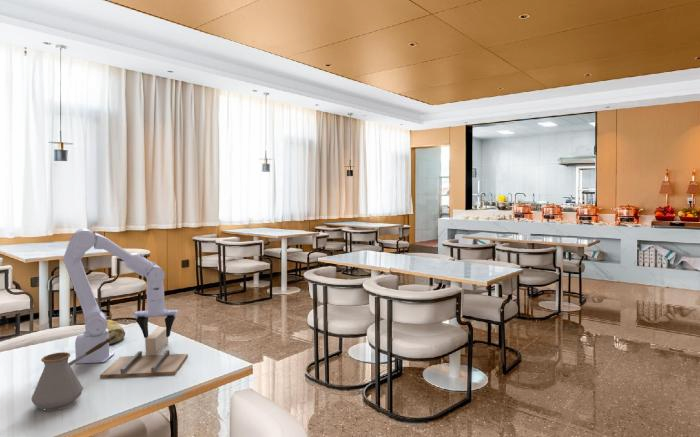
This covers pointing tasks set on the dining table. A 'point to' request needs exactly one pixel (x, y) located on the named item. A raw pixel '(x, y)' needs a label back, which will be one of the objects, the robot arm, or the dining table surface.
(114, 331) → the pastry
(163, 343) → the beige rectangular block
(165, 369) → the tan panel with rails
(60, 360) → the coffee pot
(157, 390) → the dining table surface
